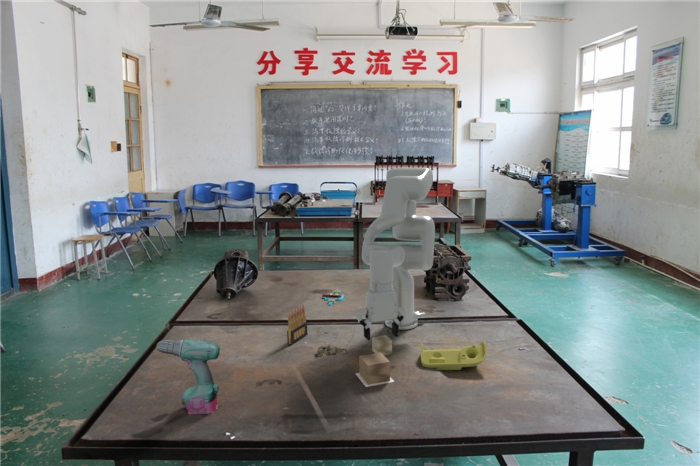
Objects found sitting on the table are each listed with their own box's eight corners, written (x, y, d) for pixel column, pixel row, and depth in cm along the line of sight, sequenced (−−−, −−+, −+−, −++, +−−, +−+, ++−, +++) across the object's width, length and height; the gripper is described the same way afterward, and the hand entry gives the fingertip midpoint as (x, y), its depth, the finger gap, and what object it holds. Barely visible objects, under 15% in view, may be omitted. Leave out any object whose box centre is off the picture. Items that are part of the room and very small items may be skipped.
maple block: (386, 351, 178) (386, 335, 176) (392, 357, 173) (391, 340, 172) (372, 354, 176) (372, 337, 175) (377, 360, 171) (377, 342, 170)
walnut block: (381, 370, 161) (380, 352, 160) (390, 380, 154) (390, 361, 153) (359, 374, 159) (359, 355, 158) (367, 384, 152) (367, 365, 151)
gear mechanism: (317, 306, 227) (338, 306, 225) (317, 294, 226) (338, 294, 224) (327, 292, 246) (347, 292, 245) (327, 281, 245) (346, 281, 244)
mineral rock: (312, 353, 172) (319, 338, 179) (313, 364, 174) (320, 348, 181) (344, 357, 170) (350, 341, 177) (345, 367, 172) (350, 351, 179)
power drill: (166, 403, 146) (159, 335, 142) (225, 400, 147) (220, 332, 143) (159, 417, 139) (152, 346, 135) (221, 413, 140) (216, 343, 136)
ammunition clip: (291, 345, 184) (290, 312, 182) (287, 344, 185) (285, 312, 183) (307, 334, 194) (306, 303, 191) (303, 334, 195) (302, 303, 192)
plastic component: (420, 364, 162) (420, 339, 170) (422, 380, 166) (422, 354, 175) (488, 363, 158) (485, 337, 167) (488, 379, 163) (485, 353, 171)
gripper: (401, 281, 176) (400, 330, 179) (352, 286, 170) (352, 336, 173) (410, 286, 169) (410, 337, 172) (360, 291, 163) (360, 344, 166)
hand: (381, 337), depth 172 cm, fingers open, 9 cm apart
